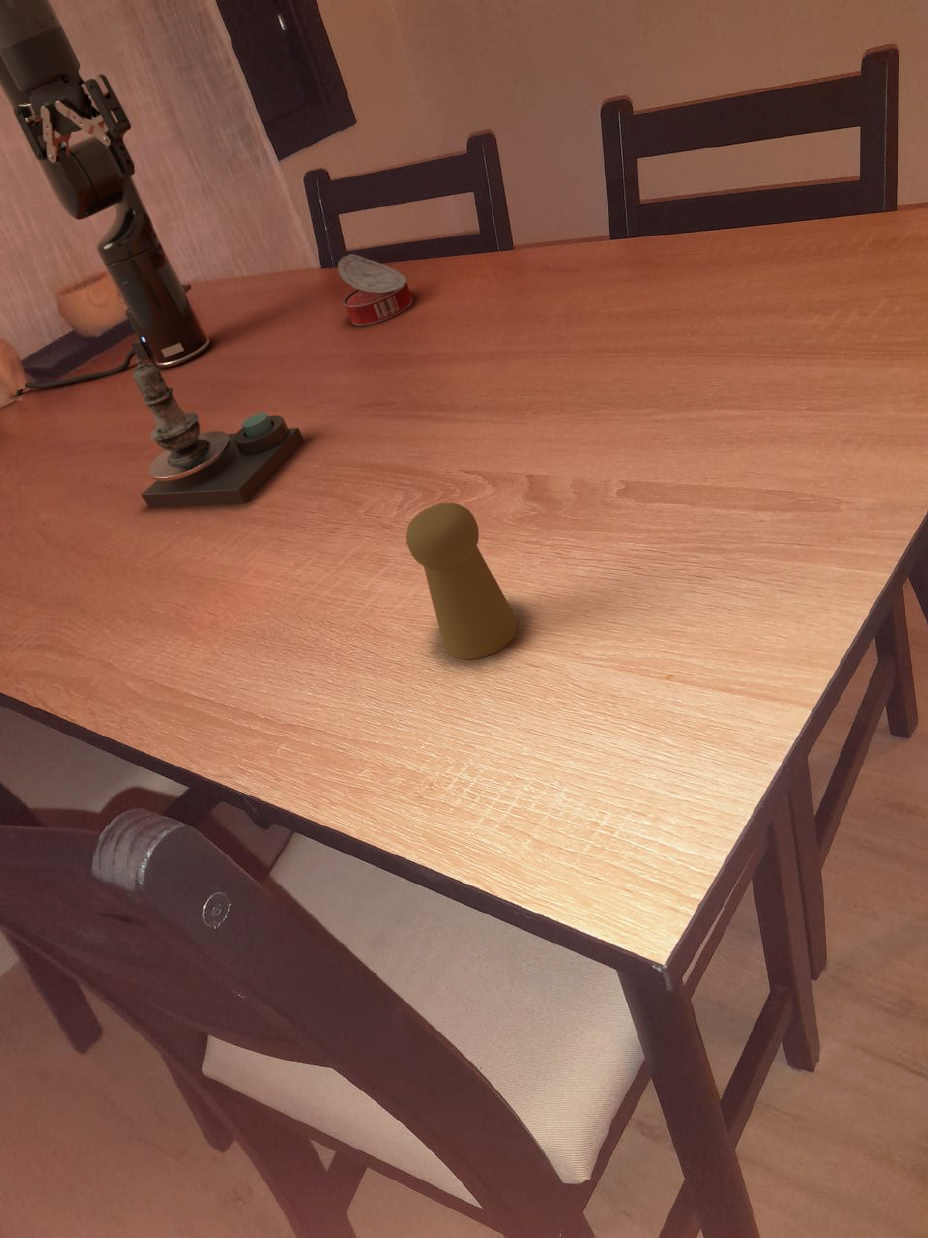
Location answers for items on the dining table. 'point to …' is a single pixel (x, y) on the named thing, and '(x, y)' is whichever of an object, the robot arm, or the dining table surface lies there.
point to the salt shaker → (169, 417)
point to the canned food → (373, 290)
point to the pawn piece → (460, 582)
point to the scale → (231, 470)
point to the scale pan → (171, 472)
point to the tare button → (256, 425)
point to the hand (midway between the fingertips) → (104, 183)
